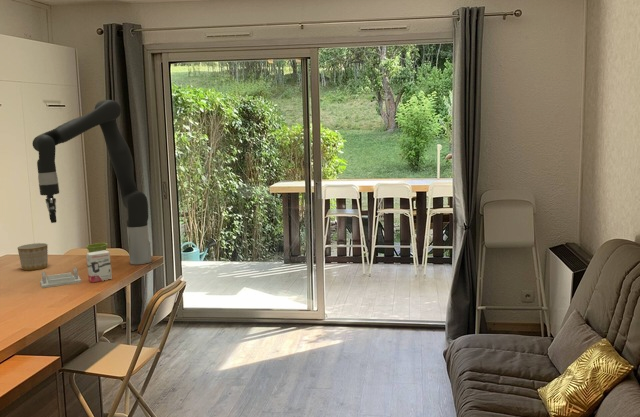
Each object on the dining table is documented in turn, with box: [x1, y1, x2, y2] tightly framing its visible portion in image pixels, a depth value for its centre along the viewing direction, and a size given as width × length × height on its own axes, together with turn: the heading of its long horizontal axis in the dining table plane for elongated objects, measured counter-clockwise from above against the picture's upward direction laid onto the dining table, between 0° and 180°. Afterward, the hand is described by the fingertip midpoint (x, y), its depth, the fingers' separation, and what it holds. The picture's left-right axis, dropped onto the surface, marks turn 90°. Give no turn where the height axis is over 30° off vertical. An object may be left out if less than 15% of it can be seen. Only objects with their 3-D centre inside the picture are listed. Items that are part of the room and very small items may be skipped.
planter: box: [17, 242, 49, 271], centre depth 300 cm, size 13×13×10 cm
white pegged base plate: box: [39, 266, 82, 289], centre depth 270 cm, size 15×11×5 cm
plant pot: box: [86, 242, 108, 253], centre depth 305 cm, size 9×9×9 cm
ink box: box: [85, 249, 113, 283], centre depth 271 cm, size 8×5×12 cm, turn 123°
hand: (53, 221), depth 275 cm, fingers open, 8 cm apart
